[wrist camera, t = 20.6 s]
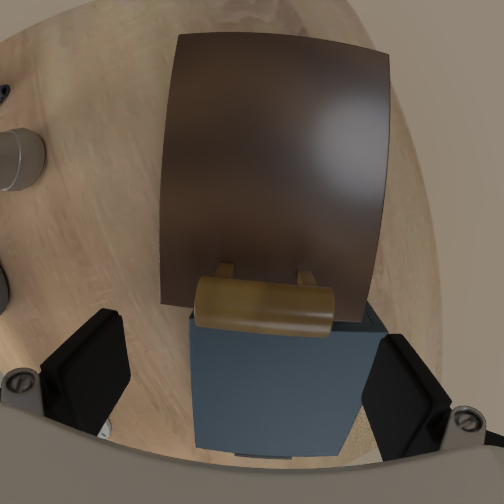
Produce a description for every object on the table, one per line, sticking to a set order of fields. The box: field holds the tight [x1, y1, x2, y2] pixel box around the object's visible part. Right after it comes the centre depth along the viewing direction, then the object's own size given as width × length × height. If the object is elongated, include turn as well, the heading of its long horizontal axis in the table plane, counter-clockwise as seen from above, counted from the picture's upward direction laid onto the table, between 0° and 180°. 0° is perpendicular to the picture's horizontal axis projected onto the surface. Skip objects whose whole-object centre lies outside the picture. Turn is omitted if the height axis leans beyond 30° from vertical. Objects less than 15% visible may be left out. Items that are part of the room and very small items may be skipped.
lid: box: [159, 32, 390, 338], centre depth 12 cm, size 15×12×6 cm
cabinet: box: [189, 301, 388, 457], centre depth 23 cm, size 14×13×9 cm
